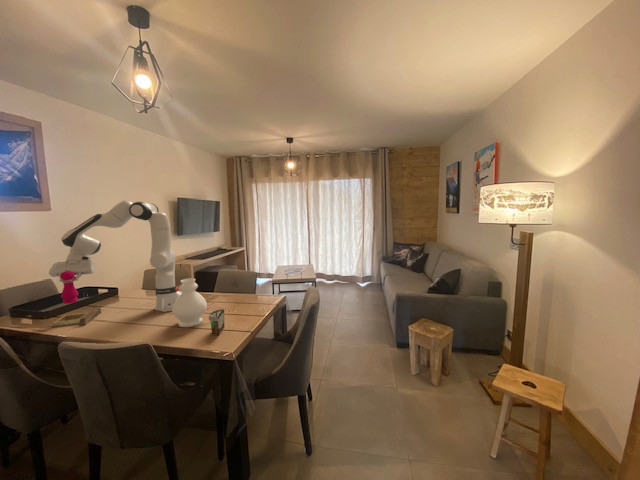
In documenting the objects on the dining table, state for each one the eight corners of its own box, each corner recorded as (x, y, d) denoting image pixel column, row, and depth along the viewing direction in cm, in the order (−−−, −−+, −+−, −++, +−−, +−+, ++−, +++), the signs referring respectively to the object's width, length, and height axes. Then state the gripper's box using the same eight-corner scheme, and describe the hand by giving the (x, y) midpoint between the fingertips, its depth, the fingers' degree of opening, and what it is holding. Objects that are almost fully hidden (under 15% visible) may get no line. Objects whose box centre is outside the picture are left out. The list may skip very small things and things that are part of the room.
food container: (213, 326, 143) (212, 309, 142) (225, 326, 144) (224, 308, 143) (206, 337, 131) (204, 318, 130) (218, 336, 131) (217, 317, 130)
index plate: (91, 315, 162) (91, 311, 162) (80, 323, 150) (80, 319, 150) (65, 318, 158) (64, 315, 157) (51, 327, 145) (51, 323, 145)
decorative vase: (202, 327, 142) (200, 283, 140) (167, 330, 139) (164, 285, 137) (211, 315, 160) (208, 275, 157) (180, 317, 157) (177, 277, 154)
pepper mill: (68, 304, 148) (64, 270, 146) (58, 303, 150) (54, 269, 148) (82, 300, 156) (78, 267, 153) (72, 299, 157) (68, 267, 155)
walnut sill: (101, 312, 167) (100, 306, 166) (85, 325, 148) (84, 318, 147) (96, 313, 166) (96, 307, 165) (80, 325, 147) (79, 319, 147)
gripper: (51, 259, 154) (42, 279, 146) (93, 257, 161) (87, 276, 153) (56, 265, 159) (48, 285, 150) (97, 263, 166) (92, 281, 157)
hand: (68, 280), depth 152 cm, fingers closed on pepper mill, 5 cm apart
